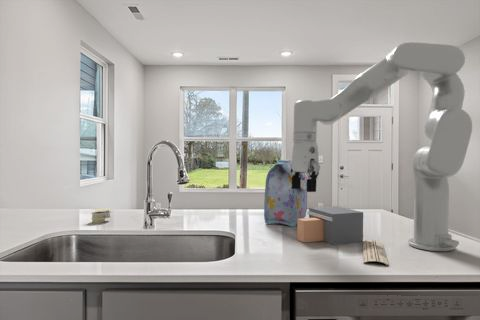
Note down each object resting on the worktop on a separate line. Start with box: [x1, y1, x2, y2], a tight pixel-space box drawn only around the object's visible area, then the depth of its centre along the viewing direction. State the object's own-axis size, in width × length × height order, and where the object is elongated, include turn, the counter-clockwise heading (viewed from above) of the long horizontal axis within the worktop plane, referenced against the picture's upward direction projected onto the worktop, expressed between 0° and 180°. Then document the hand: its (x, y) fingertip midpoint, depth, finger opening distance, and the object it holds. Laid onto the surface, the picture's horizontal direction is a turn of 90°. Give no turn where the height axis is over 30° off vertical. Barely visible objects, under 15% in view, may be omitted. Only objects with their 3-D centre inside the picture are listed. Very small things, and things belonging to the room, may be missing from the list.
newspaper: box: [362, 239, 389, 267], centre depth 101 cm, size 24×7×2 cm, turn 161°
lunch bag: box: [263, 159, 308, 228], centre depth 149 cm, size 22×17×26 cm
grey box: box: [307, 205, 364, 245], centre depth 119 cm, size 14×13×10 cm
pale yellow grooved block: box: [90, 207, 112, 224], centre depth 147 cm, size 10×9×6 cm
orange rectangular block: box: [296, 217, 325, 243], centre depth 118 cm, size 4×18×7 cm, turn 110°
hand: (303, 190), depth 115 cm, fingers open, 9 cm apart
